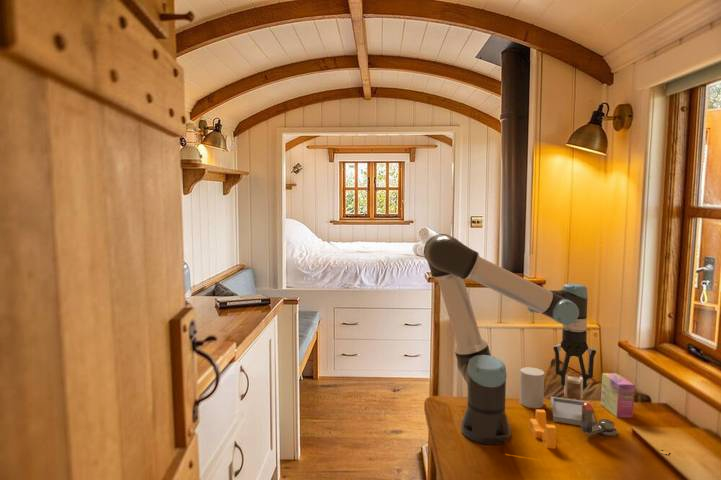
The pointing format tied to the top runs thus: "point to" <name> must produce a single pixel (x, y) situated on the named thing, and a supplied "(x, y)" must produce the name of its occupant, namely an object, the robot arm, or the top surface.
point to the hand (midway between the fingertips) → (573, 395)
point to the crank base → (609, 433)
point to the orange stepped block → (543, 429)
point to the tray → (568, 411)
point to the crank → (587, 422)
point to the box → (617, 395)
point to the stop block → (573, 387)
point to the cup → (531, 387)
